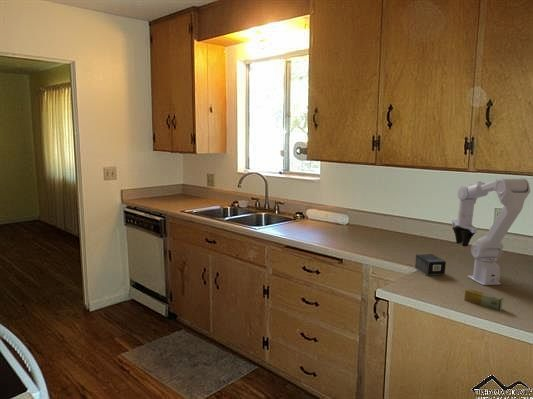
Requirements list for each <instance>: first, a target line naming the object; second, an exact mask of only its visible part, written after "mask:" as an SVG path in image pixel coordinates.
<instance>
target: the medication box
mask: <svg viewBox="0 0 533 399" xmlns="http://www.w3.org/2000/svg"><path fill="white" fill-rule="evenodd" d="M464 301H465V302H469V303H471V304H476V305H479V306H483V307H485V308H490V309H492V310H495V311H499V312H502V310H503V306H504V298H502V297H500V296H496V295H493V294H492V295H491V294H488V293H484V292H482V291H478V290H475V289H471V288H467V289H465V291H464Z"/></svg>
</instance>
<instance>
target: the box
mask: <svg viewBox="0 0 533 399" xmlns="http://www.w3.org/2000/svg"><path fill="white" fill-rule="evenodd" d="M414 262H415V264H414V268H415V267H417V268H418V269H420V270H421V271H423V272H424V273H426V274H427V275H426V276H436V275H435V274H444V275H445V274H446V265H447V264H446V263H447V261H445V260H444V259H441V258H440V257H438V256H436V255H434V254H433V253H429V254H428V253H426V254H425V253H424V254H421V253H420V254H415V261H414Z"/></svg>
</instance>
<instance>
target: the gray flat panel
mask: <svg viewBox="0 0 533 399" xmlns="http://www.w3.org/2000/svg"><path fill="white" fill-rule="evenodd" d="M414 269H416V270H417V271H419V273H421V274H423V275H424V276H428V275H427V274H426V273H424V272H423V271H421V270H420V269H418V268H417V267H415V266H414ZM441 275H442V276H443V275H445V274H435V275H434V276H441Z"/></svg>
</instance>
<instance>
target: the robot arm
mask: <svg viewBox="0 0 533 399" xmlns="http://www.w3.org/2000/svg"><path fill="white" fill-rule="evenodd" d="M494 191H495V192H496V194H497V198H498V199H499V201H500V204H501V205H503V207H502V209H500V212H499V213H498V215H497V217H496V218H495V220H494V222H493V223H492V225H491V227H490V228H489V230H488V231H487V233H486V234H485V235H484V236H482V237H480V238H478V239H477V241H476V242H473V244H471V247H470V252H471V255H472V257H473V258H474V265H473V272H472V273H473V274H472V275H467V278H469V279H471V280H473V281H475V283H476V282H477V283H478V284H480V285H482V286H489V285H490V286H495V285H501V282H500V278H501V277H500V276H501V267H500V265H499V264H497V262H496V261H498V259H499V258H500V257H501V255H502V251H503V248H504V244H503V242H502V241H503V239H504V237H505V236H506V234H507V233H508V231H509V230H510V228H511V227H512V225H513V224H514V222H515V221H516V219H517V218H518V216H519V215H520V214H521V212H522V209H523V207H524V203H525V201H526V200H527V198H528V196H529V195H530V193H531V186H530V183H529V181H528V180H527V179H526V178H503V177H502V178H496V179H495V180H492V181H489V182H487V183H485V182H482V181H476V182H475V183H474V184H472V183H471V184H469V185H468V186H462V185H461V186H460V187H458V189H457V198H458V200H459V203H458V204H459V205H458V213H457V220H455V219H454V220H453V219H452V220H451V225H452V230H453V234H454V236H455V243H456V244H461V245H462V247H468V246H469V244H470V241H471V239H472V238H473V236H474V235H475V234H477V233H478V228H477V227H476V226H474V225H473V219H474V218H473V217H474V208H475V204H476V203H477V199H479V198H482V197H486V196H487V195H488V194H489V193H491V192H494Z"/></svg>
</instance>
